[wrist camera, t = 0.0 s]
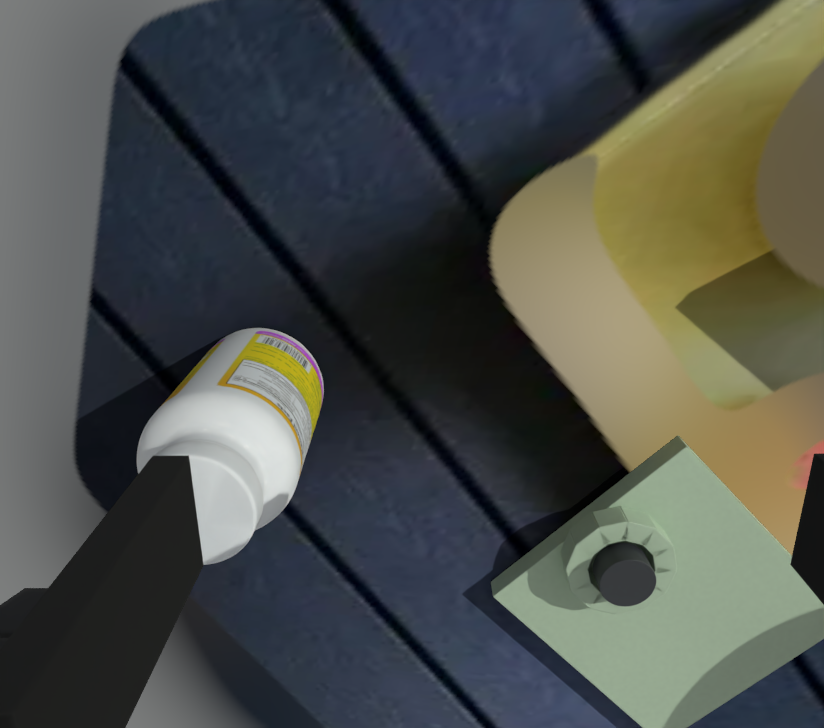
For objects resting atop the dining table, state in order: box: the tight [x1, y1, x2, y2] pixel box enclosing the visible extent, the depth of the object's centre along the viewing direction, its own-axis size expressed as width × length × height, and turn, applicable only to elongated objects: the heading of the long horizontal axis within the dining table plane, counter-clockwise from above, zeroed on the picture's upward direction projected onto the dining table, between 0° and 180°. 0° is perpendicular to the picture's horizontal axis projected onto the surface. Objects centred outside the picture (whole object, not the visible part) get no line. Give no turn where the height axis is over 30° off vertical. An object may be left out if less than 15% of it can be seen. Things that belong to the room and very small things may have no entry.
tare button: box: [593, 543, 656, 607], centre depth 37 cm, size 3×3×2 cm
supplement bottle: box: [137, 328, 324, 565], centre depth 31 cm, size 7×7×13 cm
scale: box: [491, 436, 824, 728], centre depth 40 cm, size 16×14×3 cm
